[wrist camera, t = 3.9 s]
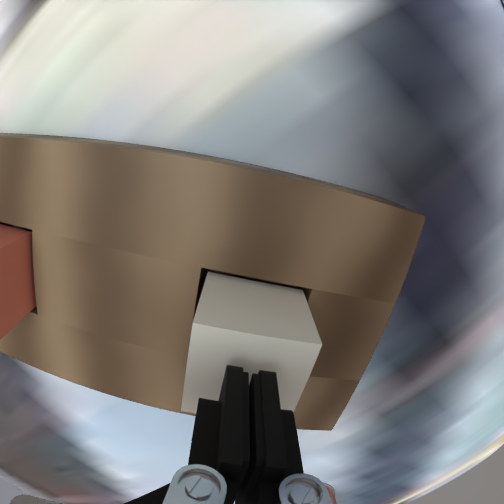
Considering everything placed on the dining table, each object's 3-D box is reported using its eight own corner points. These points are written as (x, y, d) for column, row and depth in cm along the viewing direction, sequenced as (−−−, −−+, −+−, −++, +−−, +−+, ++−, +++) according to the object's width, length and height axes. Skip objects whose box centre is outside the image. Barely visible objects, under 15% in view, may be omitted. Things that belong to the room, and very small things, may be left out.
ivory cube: (302, 290, 14) (322, 344, 10) (278, 363, 16) (286, 426, 12) (207, 271, 14) (192, 322, 10) (195, 349, 15) (180, 410, 11)
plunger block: (384, 198, 18) (425, 217, 13) (318, 381, 22) (331, 430, 17) (-11, 133, 15) (-58, 137, 11) (-8, 300, 20) (-42, 328, 15)
